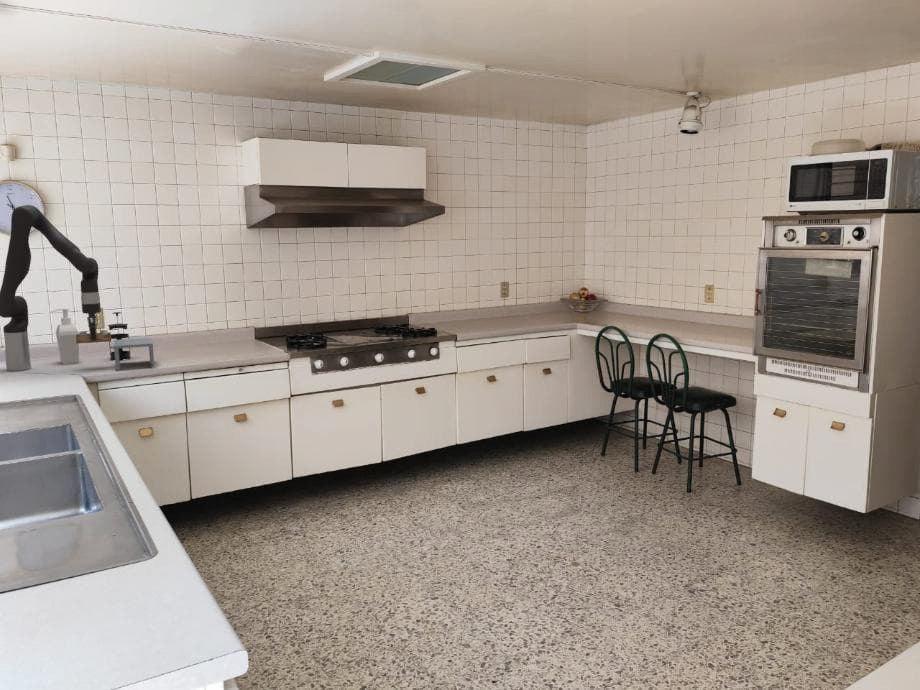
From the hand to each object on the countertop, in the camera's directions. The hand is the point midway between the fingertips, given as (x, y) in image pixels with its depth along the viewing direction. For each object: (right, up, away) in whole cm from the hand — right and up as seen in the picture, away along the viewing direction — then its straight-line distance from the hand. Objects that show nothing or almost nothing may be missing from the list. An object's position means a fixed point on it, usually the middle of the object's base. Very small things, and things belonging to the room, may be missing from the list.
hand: (94, 339), depth 333 cm
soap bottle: (-21, -11, +18) cm, 30 cm away
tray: (0, -1, 0) cm, 1 cm away
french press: (0, -10, +27) cm, 29 cm away
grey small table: (+15, -12, +9) cm, 21 cm away
